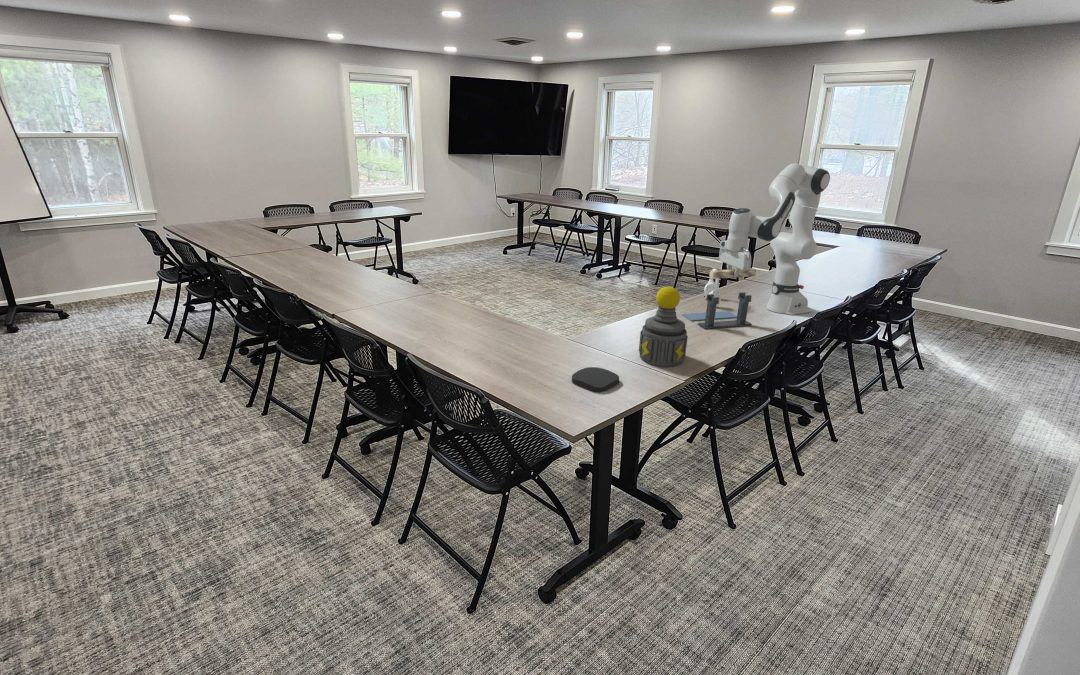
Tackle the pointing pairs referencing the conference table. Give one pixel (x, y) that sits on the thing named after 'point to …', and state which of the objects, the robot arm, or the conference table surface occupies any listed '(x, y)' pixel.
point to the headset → (712, 288)
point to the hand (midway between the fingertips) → (732, 275)
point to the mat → (702, 316)
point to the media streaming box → (595, 379)
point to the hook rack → (726, 324)
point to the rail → (731, 273)
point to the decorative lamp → (664, 332)
